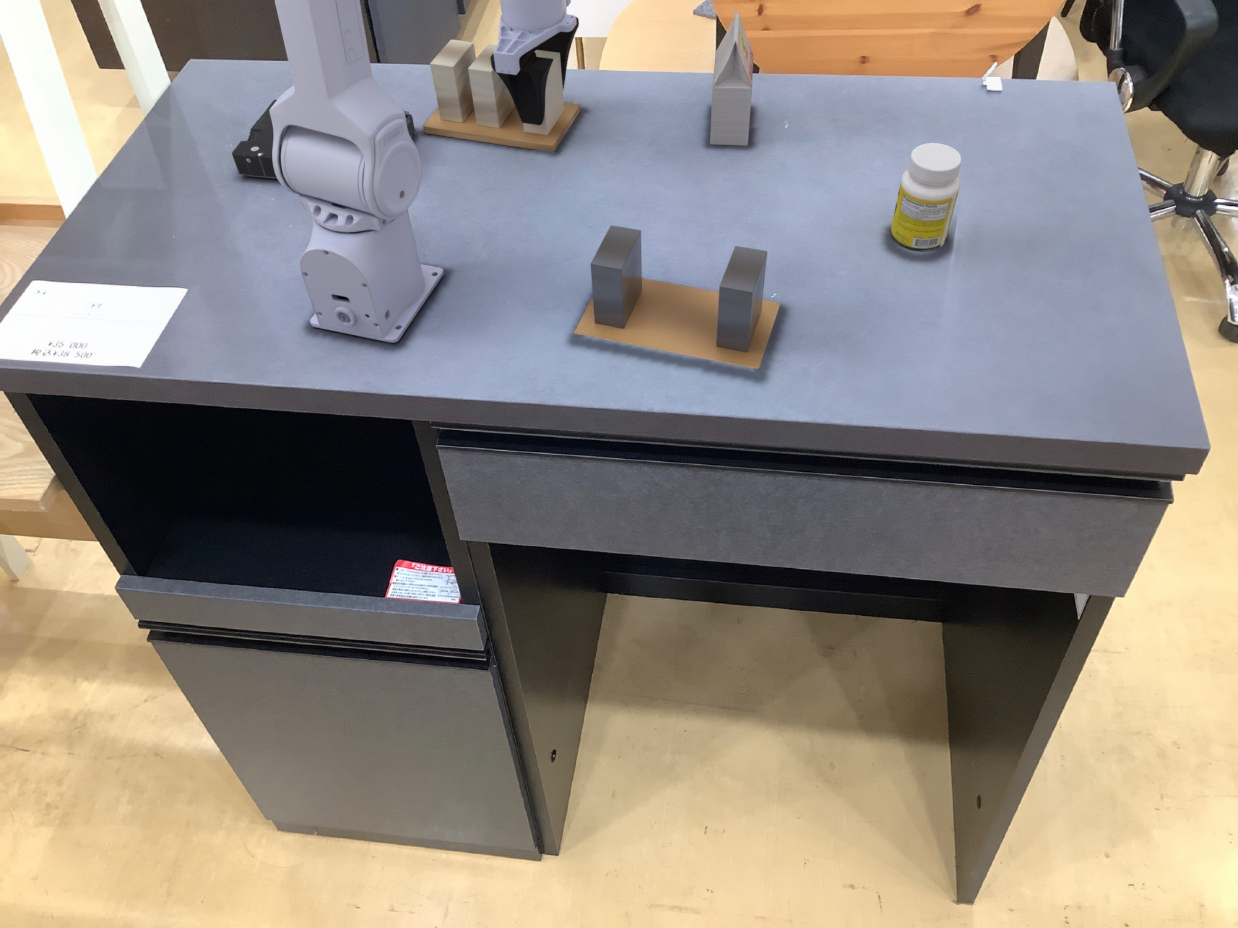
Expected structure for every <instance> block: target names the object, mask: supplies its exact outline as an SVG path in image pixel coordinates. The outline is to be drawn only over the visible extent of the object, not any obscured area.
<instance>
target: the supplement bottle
mask: <svg viewBox="0 0 1238 928" xmlns="http://www.w3.org/2000/svg"><path fill="white" fill-rule="evenodd" d="M961 164H962V155H961V153H960V152H959V151H958V150H957V149H955V148H954V147H952V146H950V145H948V144H944V143H939V142H927V143H922V144H920V145H918V146H916V147H914V148H913V150H912V151H911V154H910V156H909V160H908V164H907V169H906V170H905V171H904V172H903V174H902V176H901V179H900V183H899V188H898V193H897V198H896V202H895V208H894V212H893V218H892V222H891V228H890V237H891V239H892V240H893V242H894V243H896V244H897V245H898V246H900V247H901V248H904V249H906V250H909V251H913V252H930V251H931V252H932V251H935V250H938V249H941V247H943V245H944V244H946V241H947V239H948V234H949V230H950V226H951V222H952V218H953V215H954V211H955V206H956V203H957V199H958V195H959V191H960V188H961V180H960V178H959V173H960V170H961Z"/></svg>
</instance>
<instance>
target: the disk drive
mask: <svg viewBox="0 0 1238 928" xmlns="http://www.w3.org/2000/svg"><path fill="white" fill-rule="evenodd" d="M277 100H278V99H273V100H272V101H271V102H270V104H269V105H268V107H267V108H266V109H265V110H264V112H263V113H262V114H261V115H260V117H259V118H258V119H257V120H256V121H255V122H254V124H253V125H252V126H251V128H250V129H249V135H248V138H247V140H241V141H239V143H238V144H237V145H236V147H235V148H234V149H233V150H232V152H231V155H232V158H233V161H234V164H235V166H236V168H237V172H238V174H239V175H246V176H248V177H254V178H255V177H257V178H267V179H268V178H269V179H277V177H276V174H275V171H274V167H273V160H272V150H273V139H274V133H273V125H272V120H271V116H270V109H271V107H272V106H273V105H274V103H275V102H276V101H277ZM402 110H403V111H404V113H405V117H406V124H407V129H408V132H409V135H410V137H411V138H412V137H413V136H414V135H413V134H414V133H415V130H416V128H415V123H414V118H413V115H412V114H410V112H409V110H407V111H406V110H404V109H402Z"/></svg>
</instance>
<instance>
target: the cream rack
mask: <svg viewBox="0 0 1238 928" xmlns="http://www.w3.org/2000/svg"><path fill="white" fill-rule="evenodd" d="M497 45H498V44H490V43H488V44H487V45H486V46H485V47H484V49H482V51H481V52H480V53H479V54H478V56H476V49H475V43H474V42H473V41H467V40H458V39H450V40H449V41H448V42H447V43H446V44H445V46H443V48H442V49H441V50H440V51H439V53H437V55H436V56H434V58H433V60H431V62H430V63H429V64H430V65H429V66H430V71H431V75H432V81H433V82H432V83H433V86H434V91H435V97H436V102H437V108H436V109H435V111H434V112H433V114H432V115H431V116H430V117H429V119H428V120H427V121H426V122H425V123H424V124H423V125H422V128H423V132H424V134H429V135H436V136H441V137H448V138H454V139H460V140H468V141H474V142H481V143H488V144H493V145H501V146H508V147H513V148H514V147H515V148H521V149H527V150H533V151H534V150H537V151H543V152H550V153H555V151H556V150H557V148H558V147H559V145H560V144H561V142H562V140H563V139H564V137H565V136H566V135H567V133H568V131H569V130H570V128H571V126H572V125H573V123H574V122H575V120H576V119H577V117H578V116H579V114H580V112H581V104H580V103H574V102H567V101H564V111H563V113H562V114H561V116H560V117H559V119H558V120H557V122H556V123H555V125H554V126H553V128H552V129H551V131H550V132H549V134H548V135H542V134H535V133H528V132H524V127H523V123H522V121H521V119H520V117H519V114H518V112H517V109H516V107H515V104H514V101H513V99H512V97H511V95H510V93H509V91H508V89H507V87H506V85H505V84H504V82H503V81H502V79H501V78H500V77H499V75H498V74H497V73H496V72H495V71H494V70H493V69H492V66H491V59H490V57H491V55H492V54H493V52H494V51H495V49H496V48H497Z"/></svg>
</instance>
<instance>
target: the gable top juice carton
mask: <svg viewBox="0 0 1238 928" xmlns="http://www.w3.org/2000/svg"><path fill="white" fill-rule="evenodd" d="M714 56H715V57H714V64H713V77H712V86H711V87H712V89H711V106H710V107H711V110H710V113H711V114H710V132H709V133H710V134H709V135H710V136H709V145H717V146H718V145H719V146H749V134H750V132H749V131H750V123H751V122H750V121H751V110H752V109H751V107H752V96H753V95H752V94H753V75H754V74H753V72H754V51H753V49H752V46H751V44H750V41H749V38H748V36H747V34H746V32H745V29H744V26H743V23H742V19H741V12H740V11H738V13H737V11H734V15H733V18H732V21H731V23H730V25H729V27H728V29H727V31H726V33H725V34H724V37H723V38H722V40H721V41H720V44H719V45H718V47H717V49H716V51H715V53H714Z"/></svg>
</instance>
